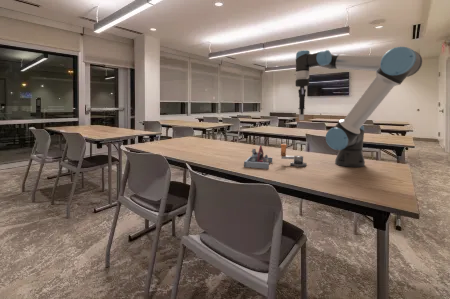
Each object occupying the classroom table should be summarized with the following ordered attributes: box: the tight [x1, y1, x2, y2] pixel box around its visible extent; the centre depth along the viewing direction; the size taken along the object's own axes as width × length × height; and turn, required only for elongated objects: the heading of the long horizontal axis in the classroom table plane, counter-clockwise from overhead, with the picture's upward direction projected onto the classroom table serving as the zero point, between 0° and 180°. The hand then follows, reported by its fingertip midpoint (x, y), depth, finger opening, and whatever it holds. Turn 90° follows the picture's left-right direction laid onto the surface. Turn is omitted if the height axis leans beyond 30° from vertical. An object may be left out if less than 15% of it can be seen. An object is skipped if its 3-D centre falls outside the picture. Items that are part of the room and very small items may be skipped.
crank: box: [280, 143, 304, 164], centre depth 144 cm, size 13×5×10 cm, turn 76°
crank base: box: [289, 161, 307, 168], centre depth 144 cm, size 9×9×1 cm
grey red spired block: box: [250, 144, 269, 163], centre depth 146 cm, size 11×11×12 cm
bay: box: [243, 155, 273, 170], centre depth 145 cm, size 14×16×3 cm
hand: (301, 120), depth 150 cm, fingers closed
